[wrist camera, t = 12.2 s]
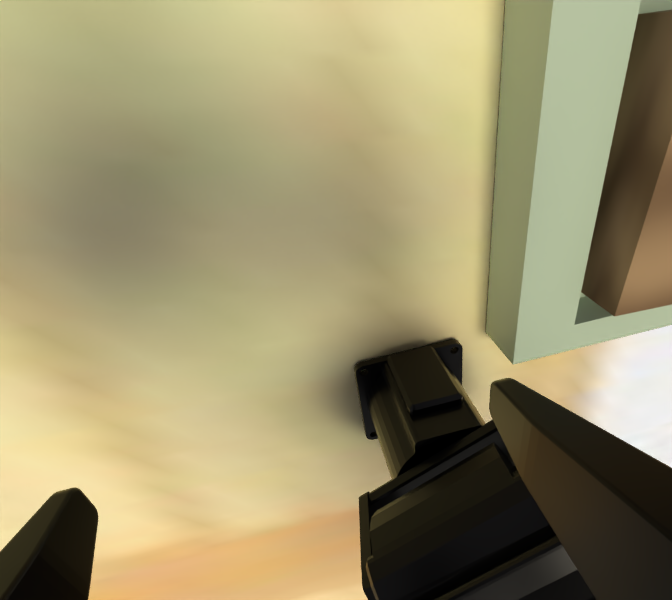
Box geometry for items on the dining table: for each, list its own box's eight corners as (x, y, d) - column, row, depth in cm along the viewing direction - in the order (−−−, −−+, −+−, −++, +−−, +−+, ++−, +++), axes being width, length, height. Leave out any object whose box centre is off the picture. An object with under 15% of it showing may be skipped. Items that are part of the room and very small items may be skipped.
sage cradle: (668, 287, 25) (714, 314, 23) (485, 332, 24) (512, 364, 22) (802, -108, 16) (909, -139, 13) (508, -57, 15) (561, -80, 12)
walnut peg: (624, 269, 23) (680, 302, 20) (566, 281, 22) (614, 316, 19) (706, 4, 16) (807, -6, 13) (625, 15, 16) (711, 7, 13)
